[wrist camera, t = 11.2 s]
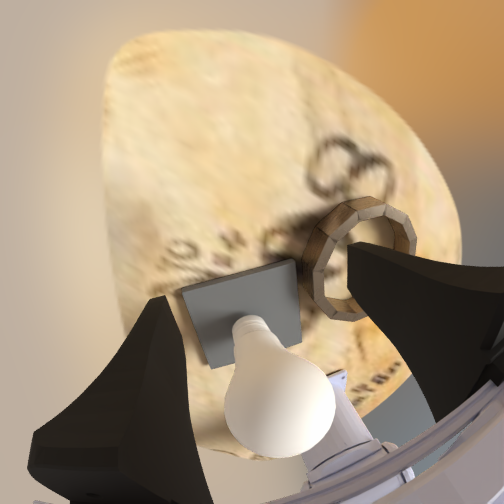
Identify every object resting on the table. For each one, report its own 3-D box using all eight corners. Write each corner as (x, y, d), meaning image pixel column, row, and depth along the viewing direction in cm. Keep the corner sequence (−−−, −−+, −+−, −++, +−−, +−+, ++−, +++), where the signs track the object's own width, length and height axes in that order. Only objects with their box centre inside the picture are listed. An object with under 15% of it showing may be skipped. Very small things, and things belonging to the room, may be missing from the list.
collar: (395, 287, 25) (408, 298, 23) (306, 321, 23) (315, 336, 22) (403, 189, 21) (419, 196, 19) (296, 212, 19) (309, 222, 17)
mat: (299, 338, 24) (302, 342, 24) (209, 364, 23) (211, 369, 22) (292, 258, 20) (295, 262, 20) (181, 288, 19) (181, 292, 19)
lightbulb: (201, 351, 21) (229, 480, 12) (210, 284, 19) (251, 429, 9) (274, 350, 23) (327, 461, 14) (294, 288, 21) (374, 404, 11)
